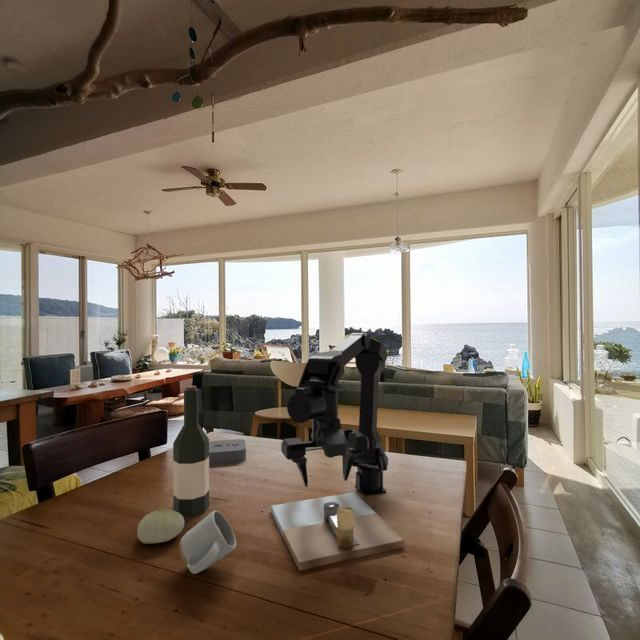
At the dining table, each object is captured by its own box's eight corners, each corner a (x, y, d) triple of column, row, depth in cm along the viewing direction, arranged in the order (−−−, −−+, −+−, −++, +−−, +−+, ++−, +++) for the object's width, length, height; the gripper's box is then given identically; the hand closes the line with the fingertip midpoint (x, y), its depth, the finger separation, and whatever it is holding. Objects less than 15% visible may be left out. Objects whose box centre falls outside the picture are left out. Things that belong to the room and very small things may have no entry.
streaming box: (205, 467, 126) (205, 452, 126) (208, 454, 138) (207, 441, 138) (246, 463, 128) (246, 449, 128) (244, 451, 141) (244, 438, 141)
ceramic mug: (203, 570, 75) (185, 532, 78) (240, 544, 76) (222, 507, 79) (181, 585, 65) (162, 541, 68) (225, 555, 66) (204, 512, 69)
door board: (354, 497, 102) (354, 491, 102) (403, 547, 80) (403, 538, 80) (270, 511, 95) (270, 504, 95) (299, 570, 72) (299, 561, 72)
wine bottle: (216, 505, 99) (215, 385, 99) (192, 520, 91) (192, 390, 91) (190, 499, 102) (190, 383, 102) (165, 513, 94) (165, 388, 95)
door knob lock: (322, 516, 88) (321, 487, 89) (336, 514, 89) (336, 485, 89) (339, 549, 76) (339, 515, 76) (356, 546, 76) (356, 512, 76)
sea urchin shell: (171, 538, 78) (145, 508, 79) (148, 566, 79) (122, 536, 80) (195, 517, 87) (171, 490, 88) (174, 542, 88) (150, 515, 89)
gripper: (293, 426, 76) (294, 506, 76) (380, 416, 82) (381, 491, 82) (280, 413, 87) (281, 484, 87) (357, 405, 93) (358, 472, 93)
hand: (325, 483), depth 87 cm, fingers open, 9 cm apart
